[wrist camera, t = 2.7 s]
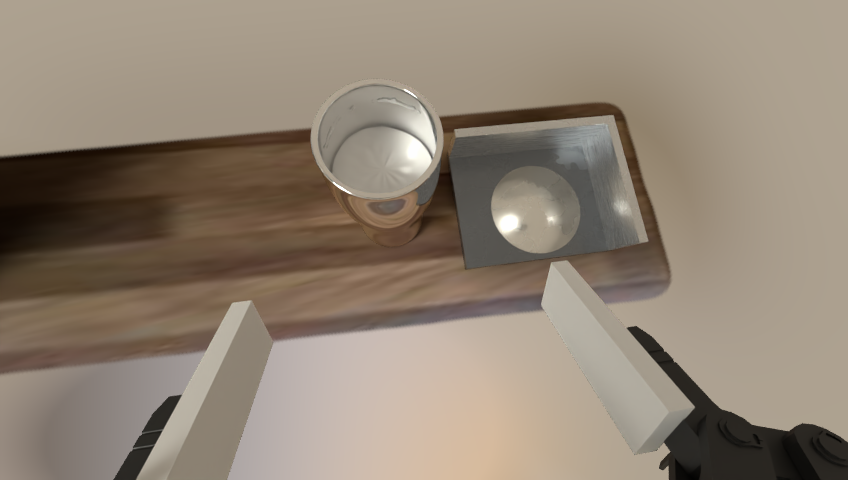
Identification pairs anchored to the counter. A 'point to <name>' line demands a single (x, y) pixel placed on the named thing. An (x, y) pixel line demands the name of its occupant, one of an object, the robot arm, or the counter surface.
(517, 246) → the tray
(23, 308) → the counter surface
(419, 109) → the beer glass
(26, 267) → the counter surface
